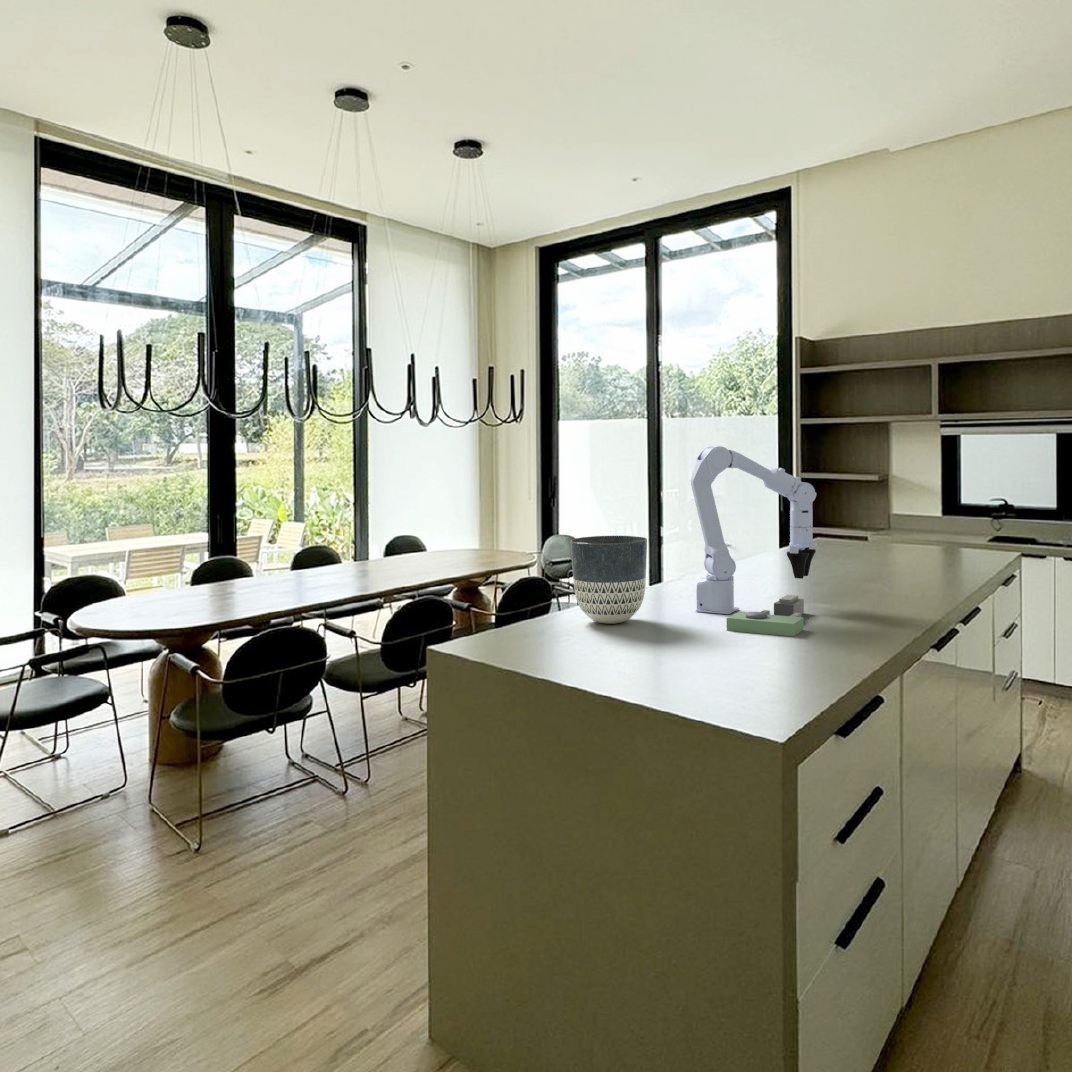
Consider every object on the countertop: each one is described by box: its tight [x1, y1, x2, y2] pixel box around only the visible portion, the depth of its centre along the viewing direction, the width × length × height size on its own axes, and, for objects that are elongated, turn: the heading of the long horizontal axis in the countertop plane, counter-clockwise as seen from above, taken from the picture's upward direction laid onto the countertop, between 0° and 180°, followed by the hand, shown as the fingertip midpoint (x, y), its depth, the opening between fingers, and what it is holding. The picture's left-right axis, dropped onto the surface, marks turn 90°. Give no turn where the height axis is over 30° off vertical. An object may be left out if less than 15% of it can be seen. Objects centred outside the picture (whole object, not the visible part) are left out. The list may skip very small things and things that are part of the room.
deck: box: [726, 609, 804, 637], centre depth 202 cm, size 16×18×4 cm
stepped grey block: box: [773, 594, 805, 616], centre depth 214 cm, size 5×9×5 cm, turn 146°
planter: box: [569, 535, 648, 625], centre depth 212 cm, size 20×20×21 cm
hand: (801, 577), depth 223 cm, fingers open, 4 cm apart
